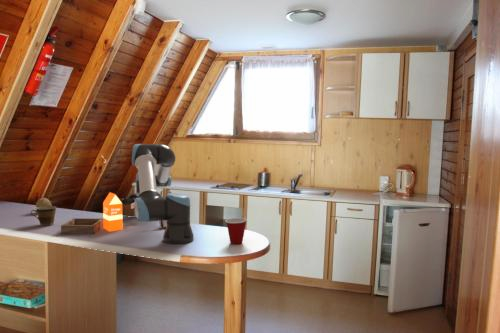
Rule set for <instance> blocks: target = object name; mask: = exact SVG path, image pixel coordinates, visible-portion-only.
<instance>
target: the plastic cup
mask: <svg viewBox="0 0 500 333" xmlns="http://www.w3.org/2000/svg"><path fill="white" fill-rule="evenodd" d="M247 220H248V219H247V218H245V217H244V218H243V217H234V218H228V219H226V220H224V222H225V223H226V227H227V231H228V236H229V237H228V238H229V242H230V244H231V245H237V246H238V245H242V244H243V241H244V237H245V230H246V226H247V225H246V224H247Z"/></svg>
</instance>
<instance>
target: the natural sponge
mask: <svg viewBox="0 0 500 333" xmlns="http://www.w3.org/2000/svg"><path fill="white" fill-rule="evenodd" d="M42 206H53V205H52V202H51V200H49V199H48V198H46V197H41V198H39V199H38V200H37V201H36V203H35V207H36V208H38V207H42Z"/></svg>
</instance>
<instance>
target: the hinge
mask: <svg viewBox="0 0 500 333" xmlns="http://www.w3.org/2000/svg"><path fill="white" fill-rule="evenodd" d="M166 226H167V220H163V221H159V227H160V229H163V228H166Z"/></svg>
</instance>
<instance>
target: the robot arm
mask: <svg viewBox="0 0 500 333" xmlns="http://www.w3.org/2000/svg"><path fill="white" fill-rule="evenodd" d="M132 146H133V147H132V151H131V152H132V154H131V164H132V165H133V166H134V167H135V168H136V170H137V173H136V176H135V177H136V178H135V183H136V185H135V189H136V190H135V193H132V194H130V195H129V196H128V197H126V198H123V197H122V198H119V200H120V201H121V202H122V205H130V209H131V210H132V209H134V211H135V212H134V213H135V217H136V219H137V221H138V222H145V223H148V222H158V221H163V220H167V226H166V227H165V229H164V233H163V236H162V241H163V242H164V243H167V244H173V245H179V244H181V245H182V244H188V243H190V242H193V241H194V239H195V238H194V232H193V229H192V226H191V198H190V197H189V196H188V195H185V194H182V193H170V192H168V193H167V194H166V196H161V194H160V192H158V189H157V188H160V187H161V188H167V187H171V185H172V177H171V171H172V167H173V166H174V165H175V162H176V153H175V151H173V149H172V148H171V147H169V146H168V145H166V144H163V143H136V144H134V145H132ZM156 165H158V169H157V173H156V171H155V167H156ZM156 174H157V175H156Z"/></svg>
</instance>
